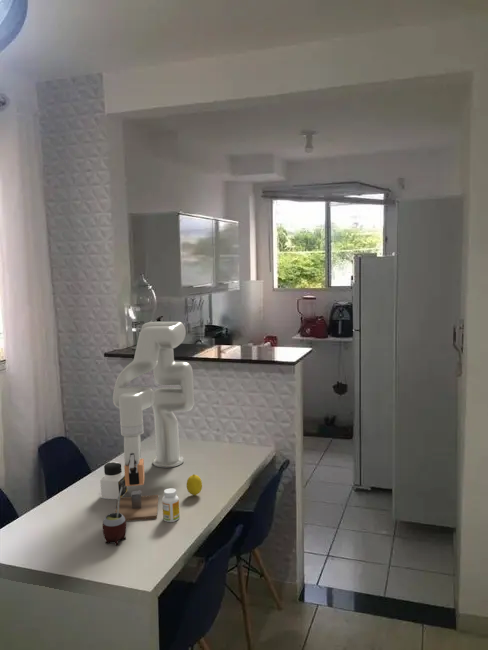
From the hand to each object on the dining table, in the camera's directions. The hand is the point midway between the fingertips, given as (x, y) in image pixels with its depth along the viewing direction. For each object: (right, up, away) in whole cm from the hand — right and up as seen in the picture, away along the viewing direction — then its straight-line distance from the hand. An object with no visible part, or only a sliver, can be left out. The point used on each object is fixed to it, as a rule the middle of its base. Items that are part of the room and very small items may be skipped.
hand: (135, 479), depth 192 cm
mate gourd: (-2, -14, -19) cm, 23 cm away
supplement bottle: (+13, -11, -6) cm, 18 cm away
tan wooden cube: (0, -1, 0) cm, 1 cm away
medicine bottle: (-10, -9, +13) cm, 19 cm away
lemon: (+19, -9, +11) cm, 24 cm away
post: (0, -11, +2) cm, 11 cm away
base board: (0, -11, +2) cm, 11 cm away
